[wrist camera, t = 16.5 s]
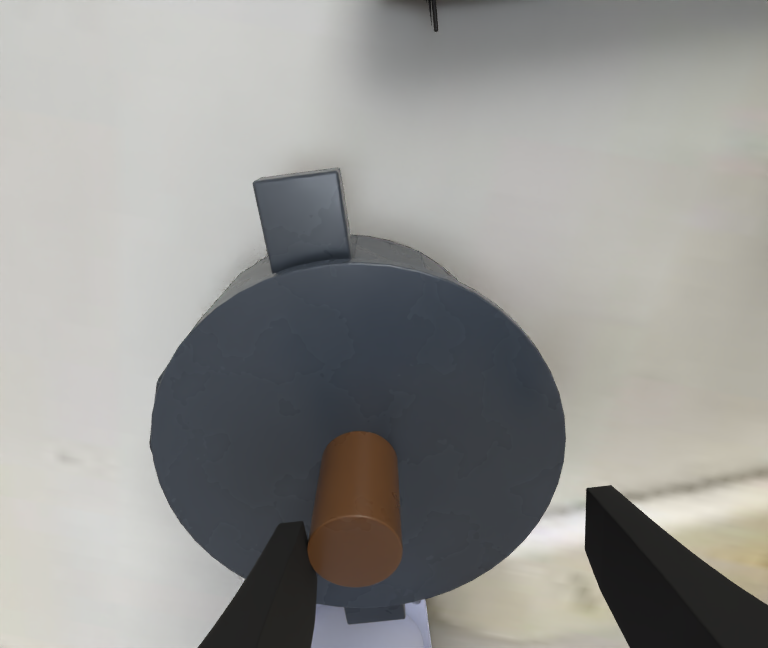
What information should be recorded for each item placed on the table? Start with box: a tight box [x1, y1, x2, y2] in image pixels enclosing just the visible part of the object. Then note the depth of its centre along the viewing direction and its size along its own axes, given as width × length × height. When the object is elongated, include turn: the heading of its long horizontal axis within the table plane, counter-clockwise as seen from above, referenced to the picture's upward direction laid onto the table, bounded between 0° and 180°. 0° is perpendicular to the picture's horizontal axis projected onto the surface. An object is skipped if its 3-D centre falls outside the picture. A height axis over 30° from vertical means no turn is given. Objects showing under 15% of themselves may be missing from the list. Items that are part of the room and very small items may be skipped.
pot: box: [150, 168, 459, 625], centre depth 19 cm, size 12×18×6 cm
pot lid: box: [151, 258, 566, 608], centre depth 15 cm, size 13×13×5 cm
